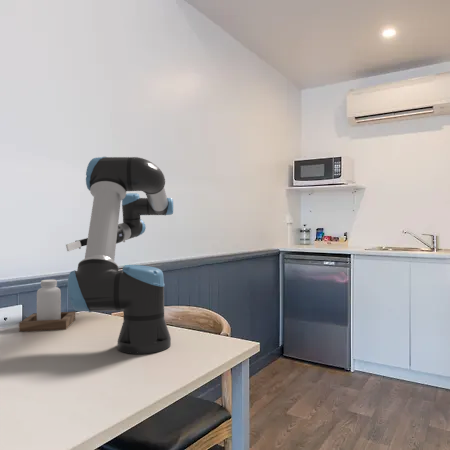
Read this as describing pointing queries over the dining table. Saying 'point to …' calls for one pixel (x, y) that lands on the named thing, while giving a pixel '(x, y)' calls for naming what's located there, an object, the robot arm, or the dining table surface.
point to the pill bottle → (49, 301)
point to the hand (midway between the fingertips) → (79, 246)
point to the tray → (47, 323)
